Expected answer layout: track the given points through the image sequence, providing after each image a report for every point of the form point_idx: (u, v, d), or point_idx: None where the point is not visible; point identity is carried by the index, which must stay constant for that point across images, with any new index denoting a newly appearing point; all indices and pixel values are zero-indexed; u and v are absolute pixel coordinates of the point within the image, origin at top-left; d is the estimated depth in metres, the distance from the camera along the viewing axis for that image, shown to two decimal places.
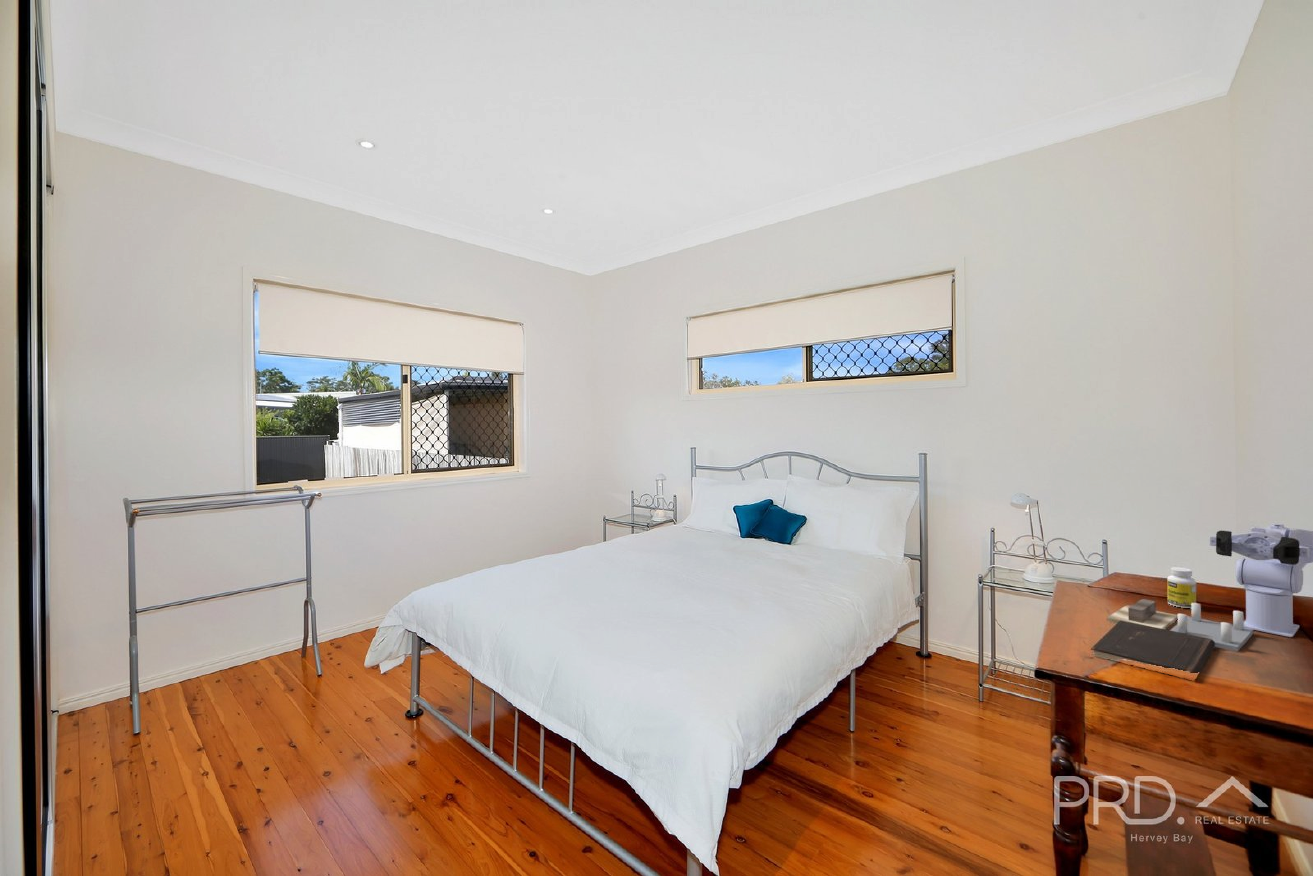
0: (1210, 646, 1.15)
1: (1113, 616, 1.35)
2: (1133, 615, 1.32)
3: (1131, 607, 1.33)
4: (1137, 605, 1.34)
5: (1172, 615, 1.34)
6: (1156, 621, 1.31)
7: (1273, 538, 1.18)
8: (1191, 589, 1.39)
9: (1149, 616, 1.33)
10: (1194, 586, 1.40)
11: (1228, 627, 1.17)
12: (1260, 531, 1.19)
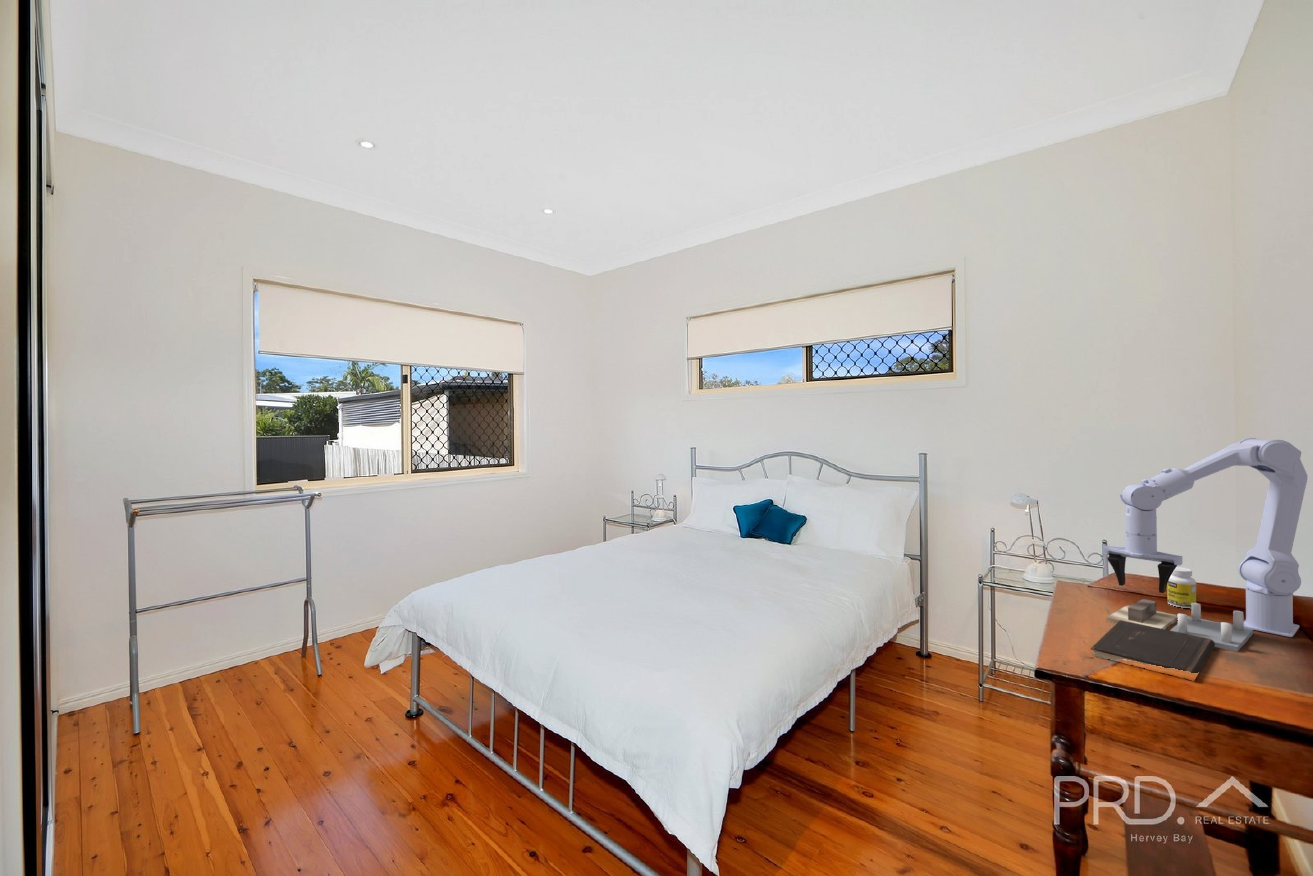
0: (1210, 646, 1.15)
1: (1113, 616, 1.35)
2: (1133, 615, 1.32)
3: (1131, 607, 1.33)
4: (1137, 605, 1.34)
5: (1172, 615, 1.34)
6: (1156, 622, 1.31)
7: (1150, 557, 1.31)
8: (1191, 589, 1.39)
9: (1149, 616, 1.33)
10: (1194, 586, 1.40)
11: (1228, 627, 1.17)
12: (1138, 556, 1.31)
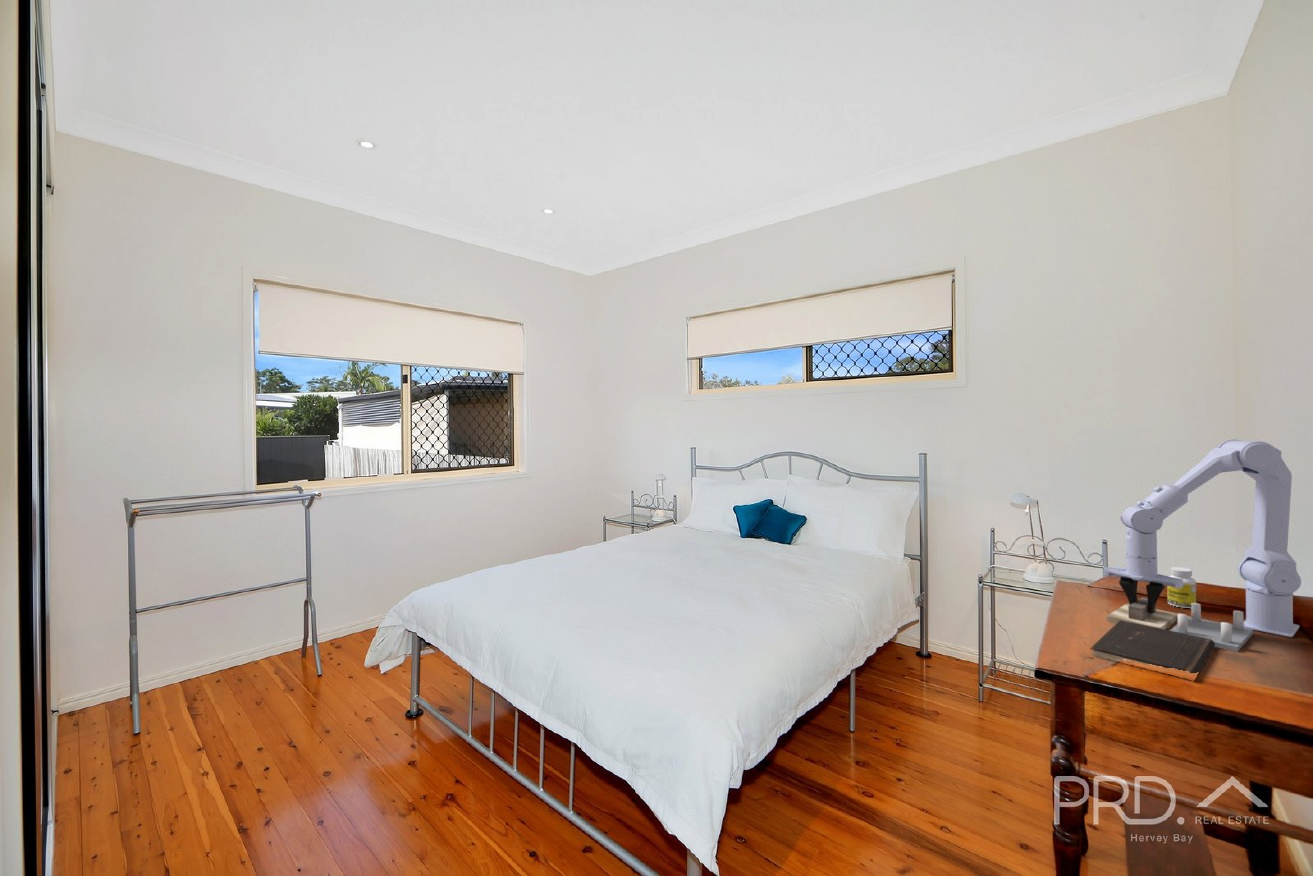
0: (1209, 646, 1.15)
1: (1113, 614, 1.35)
2: (1133, 614, 1.32)
3: (1131, 605, 1.33)
4: (1137, 603, 1.34)
5: (1172, 613, 1.34)
6: (1156, 620, 1.31)
7: None
8: (1191, 589, 1.39)
9: (1149, 614, 1.33)
10: (1194, 586, 1.40)
11: (1228, 627, 1.17)
12: None
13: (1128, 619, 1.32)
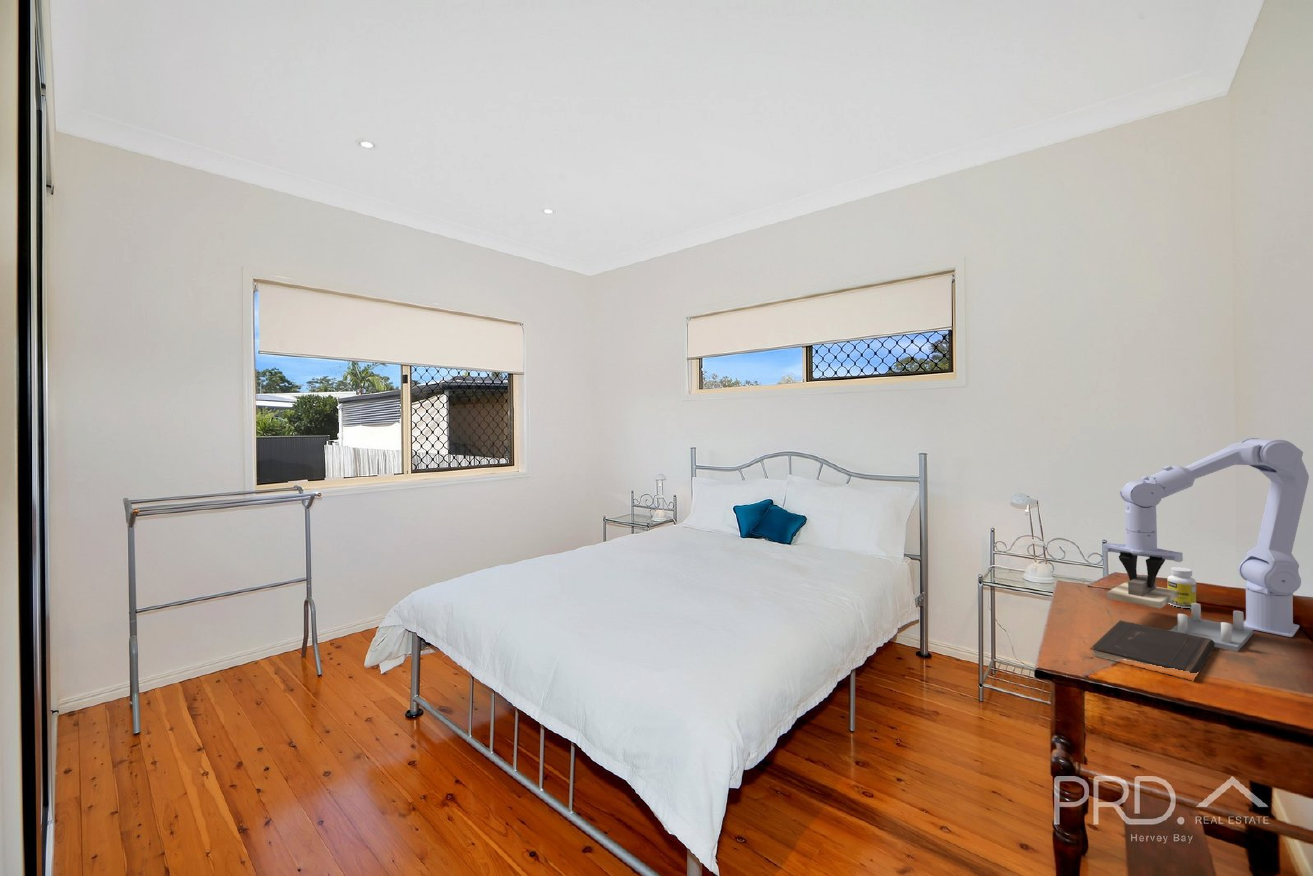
0: (1209, 646, 1.15)
1: (1113, 591, 1.35)
2: (1133, 589, 1.31)
3: (1131, 581, 1.32)
4: (1137, 579, 1.33)
5: (1172, 590, 1.34)
6: (1156, 595, 1.30)
7: (1150, 554, 1.31)
8: (1191, 589, 1.39)
9: (1149, 591, 1.33)
10: (1194, 586, 1.40)
11: (1228, 627, 1.17)
12: (1138, 553, 1.31)
13: (1128, 595, 1.32)
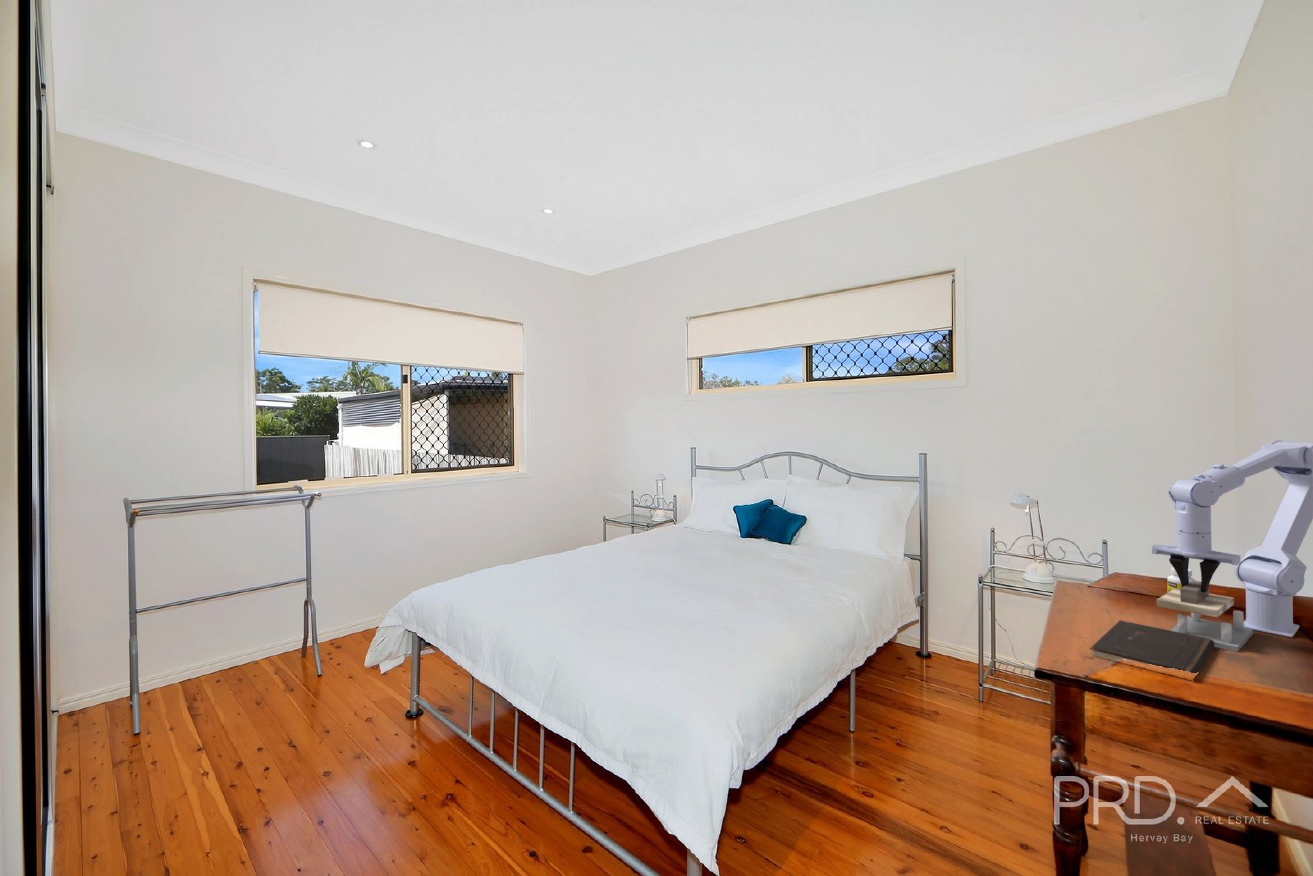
0: (1209, 646, 1.15)
1: (1163, 598, 1.27)
2: (1186, 597, 1.24)
3: (1183, 588, 1.25)
4: (1189, 586, 1.26)
5: (1227, 597, 1.26)
6: (1211, 603, 1.23)
7: (1205, 557, 1.23)
8: None
9: (1202, 598, 1.25)
10: None
11: (1228, 627, 1.17)
12: (1192, 556, 1.24)
13: (1180, 602, 1.24)
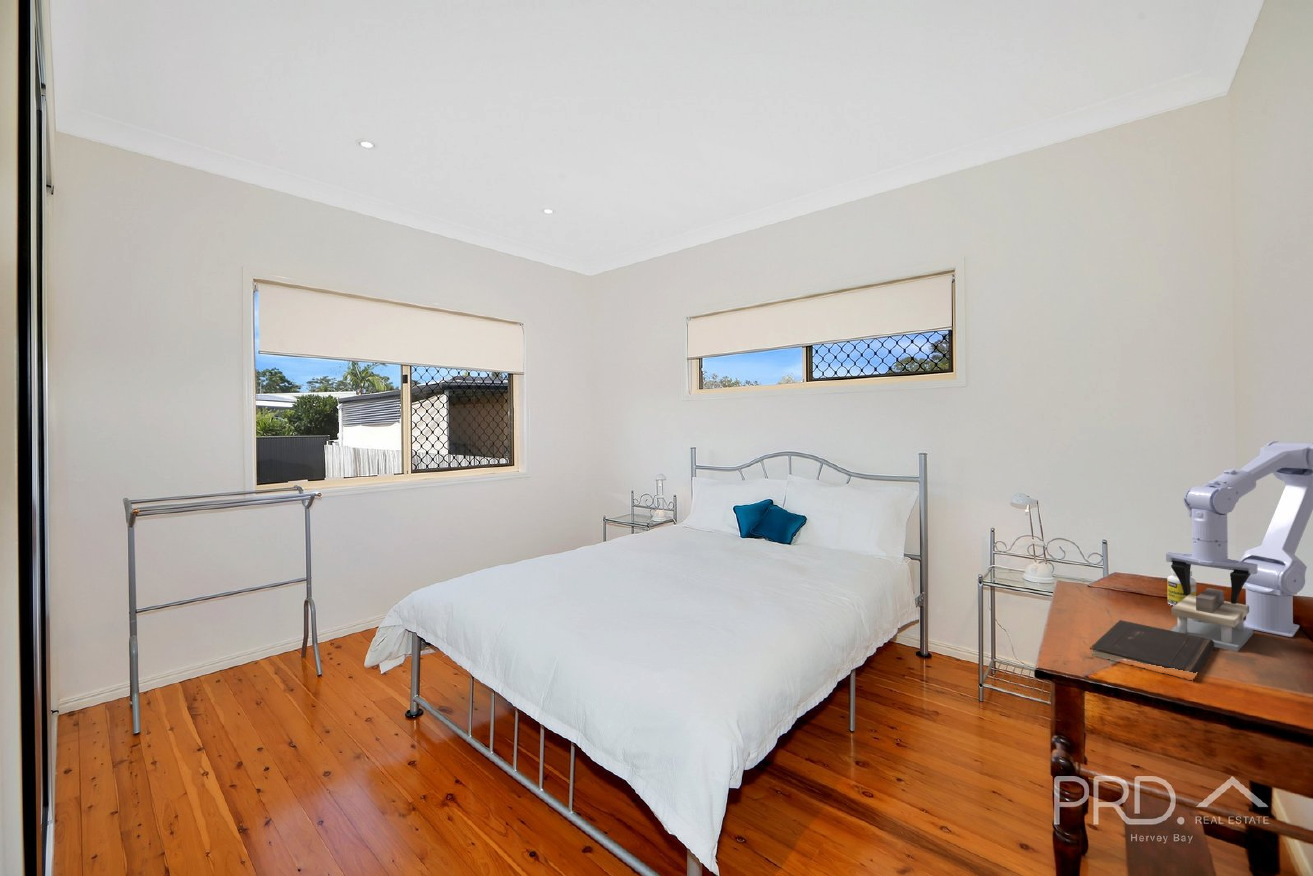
0: (1209, 646, 1.15)
1: (1178, 606, 1.25)
2: (1202, 605, 1.21)
3: (1199, 596, 1.22)
4: (1205, 594, 1.23)
5: (1242, 605, 1.24)
6: (1227, 612, 1.20)
7: (1221, 565, 1.21)
8: (1191, 589, 1.39)
9: (1218, 606, 1.23)
10: (1194, 586, 1.40)
11: (1228, 627, 1.17)
12: (1208, 564, 1.21)
13: (1196, 611, 1.22)
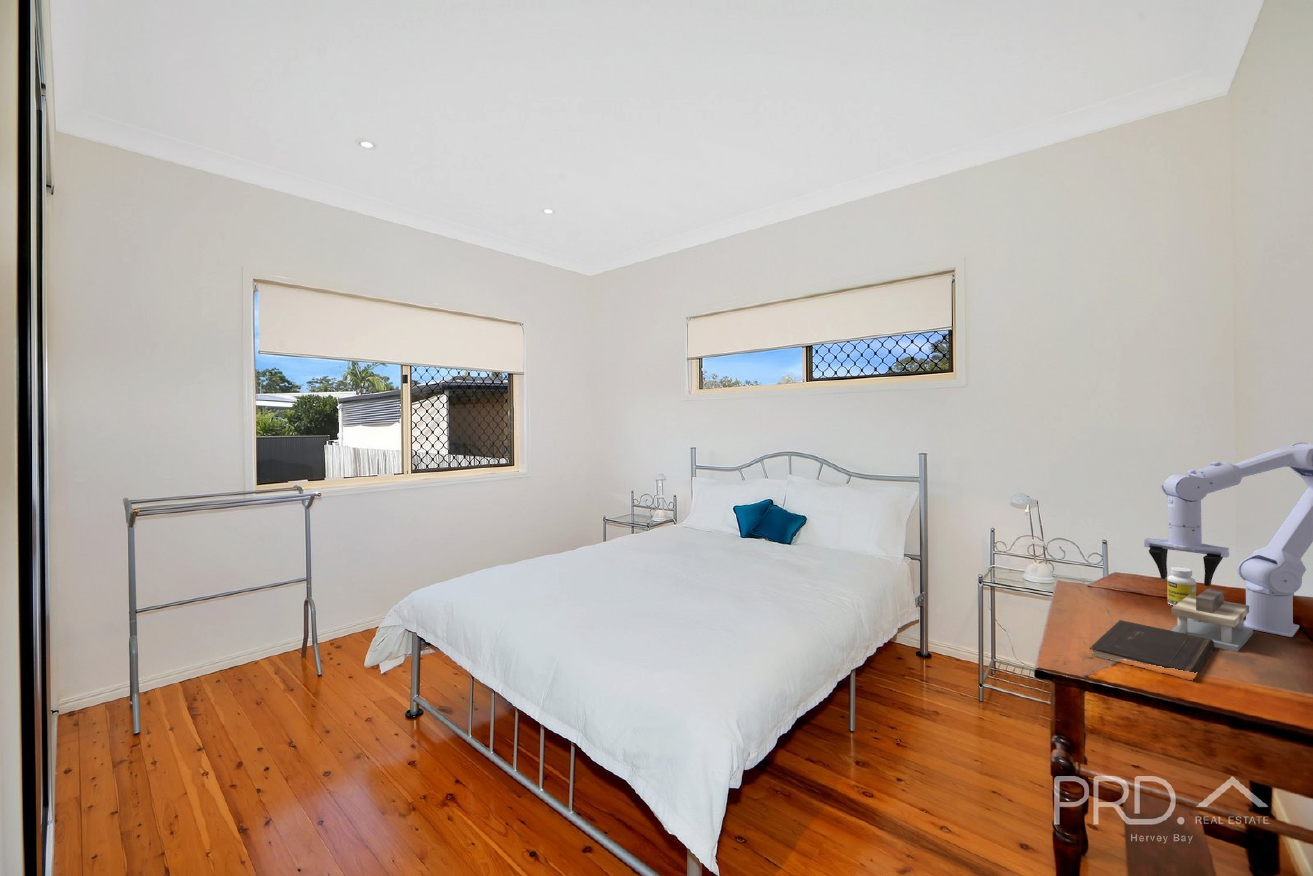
0: (1209, 646, 1.15)
1: (1178, 606, 1.25)
2: (1202, 605, 1.21)
3: (1199, 596, 1.22)
4: (1205, 594, 1.23)
5: (1242, 605, 1.24)
6: (1227, 612, 1.20)
7: (1195, 549, 1.27)
8: (1191, 589, 1.39)
9: (1218, 606, 1.23)
10: (1194, 586, 1.40)
11: (1228, 627, 1.17)
12: (1182, 548, 1.28)
13: (1196, 611, 1.22)
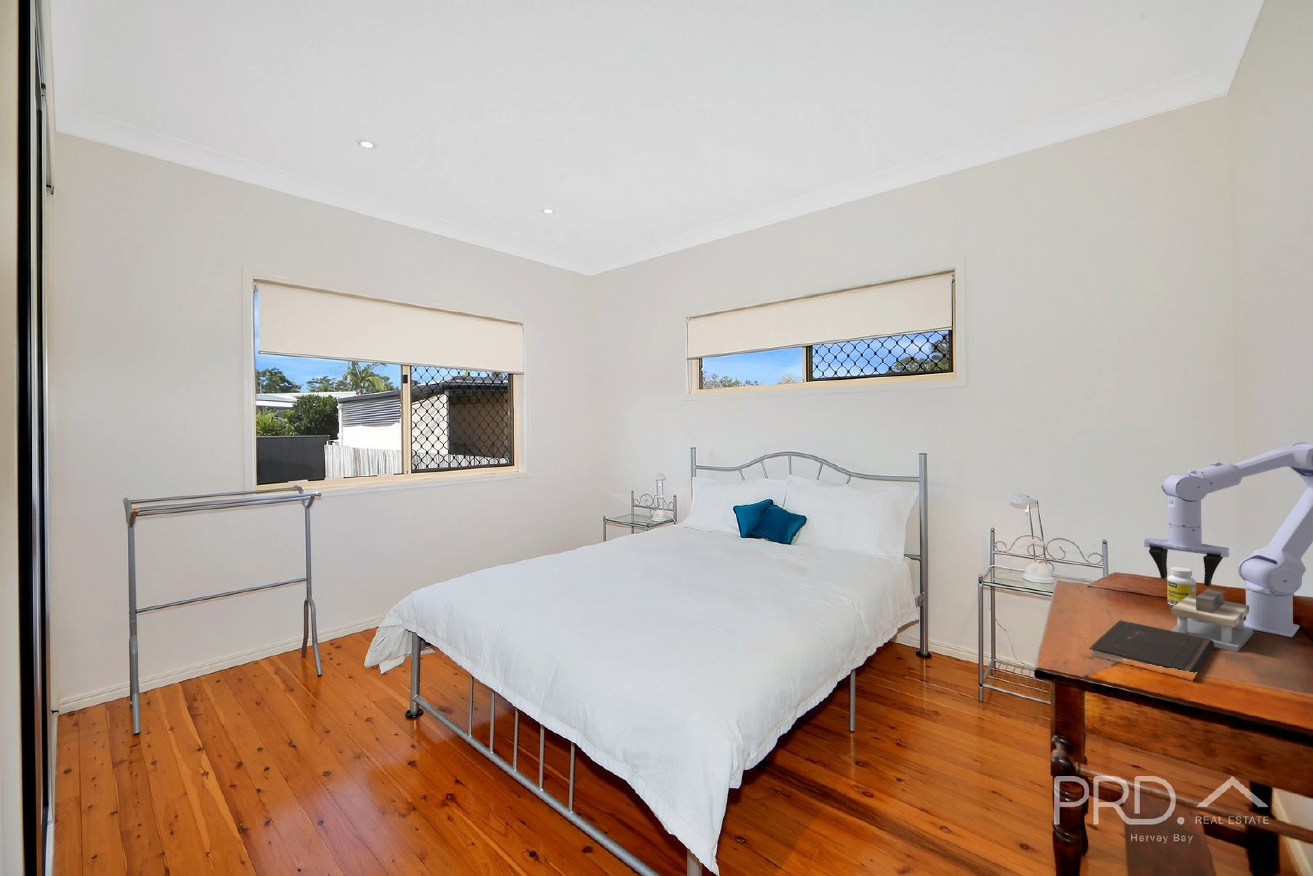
0: (1209, 646, 1.16)
1: (1178, 606, 1.25)
2: (1202, 605, 1.21)
3: (1199, 596, 1.22)
4: (1205, 594, 1.23)
5: (1242, 605, 1.24)
6: (1227, 612, 1.20)
7: (1195, 549, 1.27)
8: (1191, 589, 1.39)
9: (1218, 606, 1.23)
10: (1194, 586, 1.40)
11: (1228, 627, 1.17)
12: (1182, 548, 1.28)
13: (1196, 611, 1.22)
